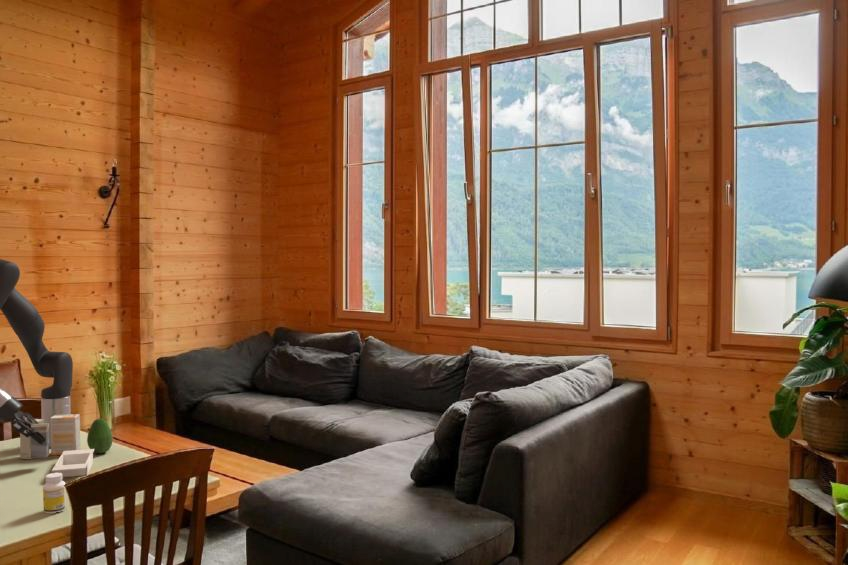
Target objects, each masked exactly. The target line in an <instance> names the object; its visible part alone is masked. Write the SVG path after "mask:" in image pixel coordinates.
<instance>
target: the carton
mask: <svg viewBox="0 0 848 565" xmlns="http://www.w3.org/2000/svg"><path fill="white" fill-rule="evenodd" d="M94 453H95V452H94V449H90V448H88V449H87V448H86V449H81V450H71V451H63V453H62V455H59V456H60V457H59V458H58V460H57V461H56V463H55V465H53V468H52V469H51V472H53V473H62V477H63V478H66V477H80V476H88V474H89V472H90V470H91V468H92V465H93V463H94ZM85 474H86V475H85Z"/></svg>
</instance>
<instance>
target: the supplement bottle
mask: <svg viewBox="0 0 848 565" xmlns="http://www.w3.org/2000/svg"><path fill="white" fill-rule="evenodd" d="M63 478H64V477H62V473H54V472H51V473H48V474H46V475H45V483H44V484H43V486H42V497H43V512H46V513H56V512H60V511H63V510H64V509H65V510H66V509H67V490H66V489H67V488H66V489H65V487H64V485H65V484H66V482H65V481H64V480H63ZM65 510H64V511H65ZM64 511H63V512H64ZM46 513H45V514H46ZM60 513H61V512H60ZM56 514H57V513H56Z"/></svg>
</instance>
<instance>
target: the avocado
mask: <svg viewBox="0 0 848 565" xmlns="http://www.w3.org/2000/svg"><path fill="white" fill-rule="evenodd" d="M86 438H87V440H86V443H87V446H88V449H94V452H93V453H95V454H104V453H106V452H108V451H110V449H111V447H112V445H113V442H114V439H113V432H112V430H111V427H110V426H109V424H108V422H107V420H105V419H104V418H97V419H94V420H93V422H92V424H91V425H90V428H89V431H88V433H87V437H86Z"/></svg>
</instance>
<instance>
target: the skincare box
mask: <svg viewBox="0 0 848 565" xmlns="http://www.w3.org/2000/svg"><path fill="white" fill-rule="evenodd" d="M34 419H35V420H36V421H37V422H38V423H39V424H43V423H44V420H42V418H34ZM28 432H29V430H28ZM19 434H20V435H19V436H20V440H19V443H20V444H19V445H20V446H19V447H20V449H19V453H20V454H19V459H21V460H22V459H24V460H25V459H26V460H33V459H34V458H31V437H28V438H27V437H26V436H24V435H23V434H21V433H20V432H19Z"/></svg>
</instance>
